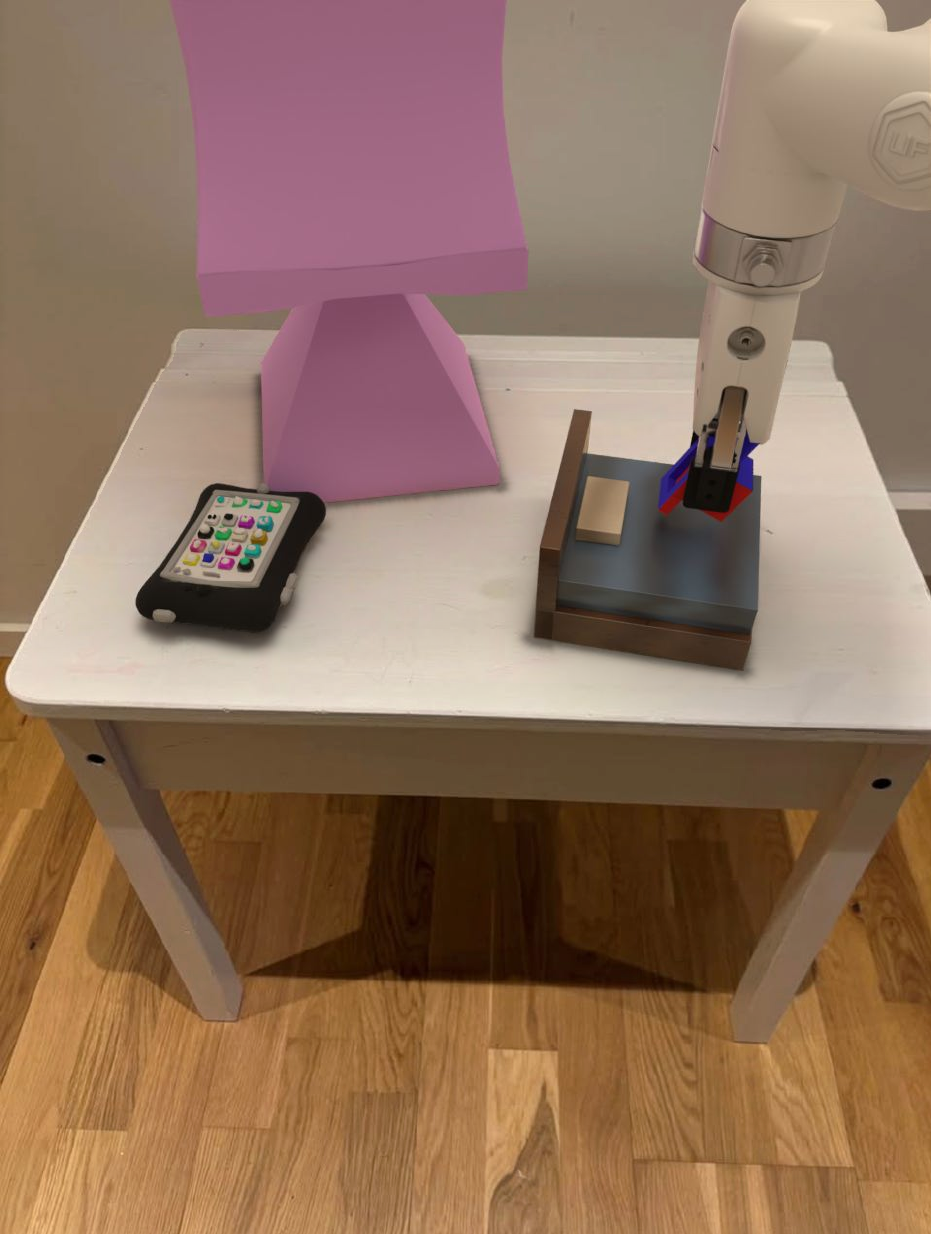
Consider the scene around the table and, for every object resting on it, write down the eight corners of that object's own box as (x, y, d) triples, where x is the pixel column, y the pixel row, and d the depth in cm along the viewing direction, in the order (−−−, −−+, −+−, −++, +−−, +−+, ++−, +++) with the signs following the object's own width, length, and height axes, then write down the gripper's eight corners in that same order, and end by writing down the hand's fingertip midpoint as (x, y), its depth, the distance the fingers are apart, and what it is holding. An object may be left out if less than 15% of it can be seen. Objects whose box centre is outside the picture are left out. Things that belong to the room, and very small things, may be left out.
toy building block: (705, 537, 71) (780, 464, 65) (657, 509, 70) (728, 434, 65) (707, 505, 74) (780, 432, 68) (660, 478, 73) (730, 402, 67)
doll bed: (748, 523, 81) (773, 433, 74) (742, 670, 70) (771, 580, 63) (566, 498, 83) (574, 408, 76) (533, 637, 72) (539, 547, 66)
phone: (333, 517, 81) (327, 474, 78) (278, 654, 71) (268, 612, 68) (209, 503, 83) (198, 461, 79) (137, 636, 72) (121, 594, 69)
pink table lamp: (518, 493, 83) (546, -190, 50) (250, 521, 81) (97, -174, 48) (475, 349, 98) (476, -248, 66) (249, 370, 96) (131, -238, 63)
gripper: (834, 321, 51) (758, 576, 64) (825, 185, 62) (762, 426, 75) (686, 306, 52) (642, 559, 65) (703, 174, 63) (663, 414, 76)
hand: (707, 486), depth 70 cm, fingers closed on toy building block, 3 cm apart
